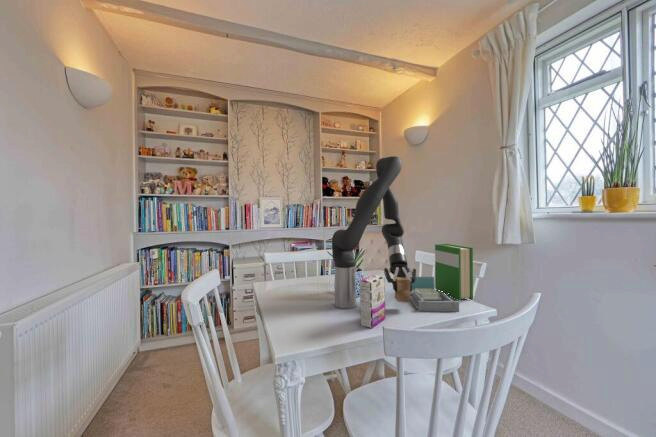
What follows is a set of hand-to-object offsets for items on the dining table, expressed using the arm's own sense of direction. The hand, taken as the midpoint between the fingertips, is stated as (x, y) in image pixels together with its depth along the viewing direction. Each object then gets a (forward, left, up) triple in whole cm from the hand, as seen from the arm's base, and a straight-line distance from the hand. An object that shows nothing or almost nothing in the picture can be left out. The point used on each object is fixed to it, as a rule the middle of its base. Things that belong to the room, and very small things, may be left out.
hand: (403, 290), depth 107 cm
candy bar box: (-14, -12, -9) cm, 20 cm away
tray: (+14, +18, -7) cm, 24 cm away
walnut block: (0, +1, -4) cm, 4 cm away
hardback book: (+29, +23, -9) cm, 38 cm away
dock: (+14, +9, -8) cm, 19 cm away
